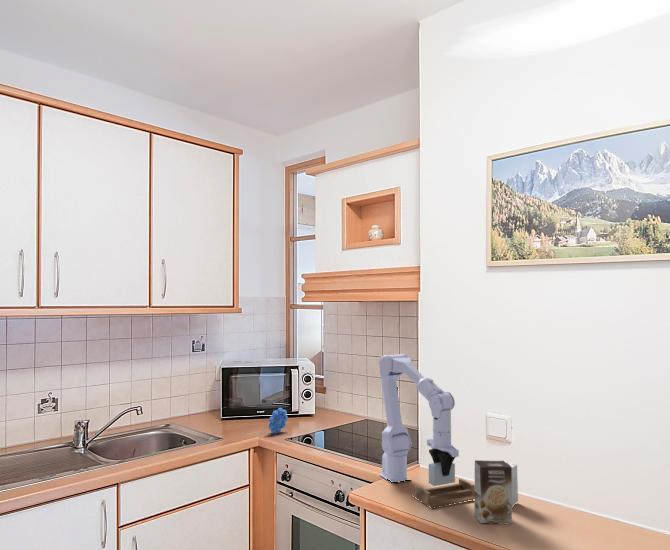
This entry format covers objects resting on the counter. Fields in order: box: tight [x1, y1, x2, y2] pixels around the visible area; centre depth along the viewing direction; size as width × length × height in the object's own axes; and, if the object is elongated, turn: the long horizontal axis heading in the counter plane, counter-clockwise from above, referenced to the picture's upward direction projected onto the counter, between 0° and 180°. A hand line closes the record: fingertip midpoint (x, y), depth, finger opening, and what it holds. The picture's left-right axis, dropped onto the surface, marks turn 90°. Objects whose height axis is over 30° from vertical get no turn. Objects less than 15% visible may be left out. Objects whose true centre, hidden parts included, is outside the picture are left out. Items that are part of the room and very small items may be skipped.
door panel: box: [428, 462, 456, 487], centre depth 164 cm, size 3×8×6 cm, turn 114°
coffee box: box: [473, 459, 513, 524], centre depth 148 cm, size 9×6×16 cm
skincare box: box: [504, 461, 519, 506], centre depth 160 cm, size 6×4×12 cm
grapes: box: [267, 407, 289, 434], centre depth 247 cm, size 12×7×12 cm, turn 136°
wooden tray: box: [411, 478, 475, 509], centre depth 164 cm, size 11×18×4 cm, turn 114°
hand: (442, 473), depth 164 cm, fingers closed on door panel, 3 cm apart
